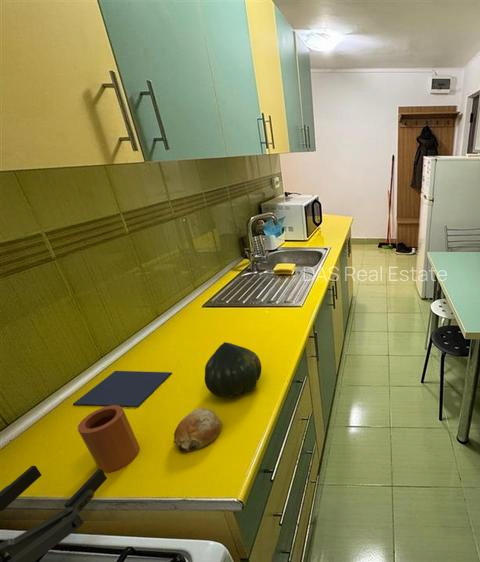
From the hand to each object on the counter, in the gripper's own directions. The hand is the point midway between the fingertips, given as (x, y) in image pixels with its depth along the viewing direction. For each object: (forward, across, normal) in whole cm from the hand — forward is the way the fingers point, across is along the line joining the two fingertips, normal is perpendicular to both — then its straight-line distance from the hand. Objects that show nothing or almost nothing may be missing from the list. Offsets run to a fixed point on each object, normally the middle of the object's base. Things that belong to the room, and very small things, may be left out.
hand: (69, 471), depth 59 cm
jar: (+9, 0, -7) cm, 11 cm away
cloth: (+30, -17, -7) cm, 35 cm away
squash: (+32, +16, -8) cm, 37 cm away
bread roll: (+15, +15, -8) cm, 23 cm away
